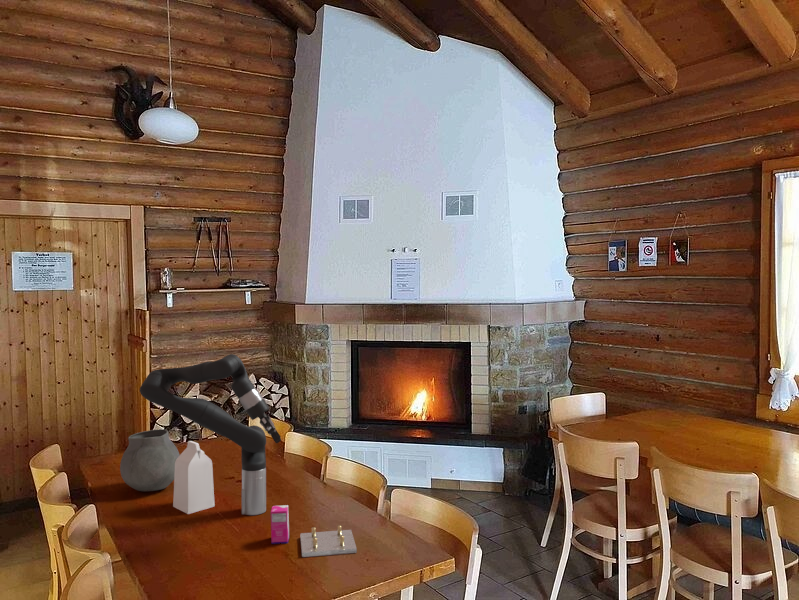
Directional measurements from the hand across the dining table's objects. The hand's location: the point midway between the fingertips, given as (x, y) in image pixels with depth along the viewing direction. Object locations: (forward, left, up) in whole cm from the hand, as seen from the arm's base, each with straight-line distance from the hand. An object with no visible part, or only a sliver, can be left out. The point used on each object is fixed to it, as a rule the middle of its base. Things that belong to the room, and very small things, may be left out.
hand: (278, 440), depth 226 cm
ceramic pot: (-55, +55, -33) cm, 85 cm away
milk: (-34, +30, -33) cm, 56 cm away
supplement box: (0, -10, -33) cm, 34 cm away
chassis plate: (+16, -17, -33) cm, 40 cm away
